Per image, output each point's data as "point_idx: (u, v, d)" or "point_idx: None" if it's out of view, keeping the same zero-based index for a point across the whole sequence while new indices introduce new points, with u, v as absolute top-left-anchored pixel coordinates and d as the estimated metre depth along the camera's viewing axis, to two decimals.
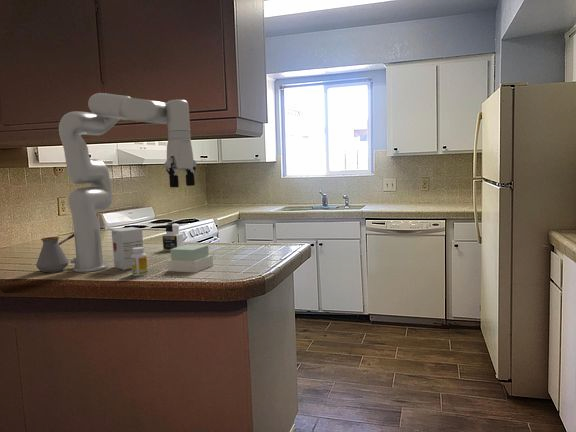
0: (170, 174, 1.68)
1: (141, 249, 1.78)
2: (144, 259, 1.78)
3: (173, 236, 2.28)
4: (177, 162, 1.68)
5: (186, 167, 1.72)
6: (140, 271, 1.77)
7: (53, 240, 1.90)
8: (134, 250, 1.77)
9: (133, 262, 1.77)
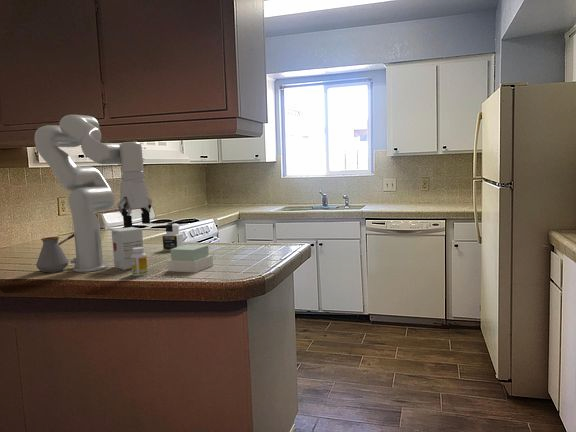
0: (123, 214, 1.72)
1: (141, 249, 1.78)
2: (144, 259, 1.78)
3: (173, 236, 2.28)
4: (130, 203, 1.72)
5: (140, 206, 1.77)
6: (140, 271, 1.77)
7: (53, 240, 1.90)
8: (134, 250, 1.77)
9: (133, 262, 1.77)
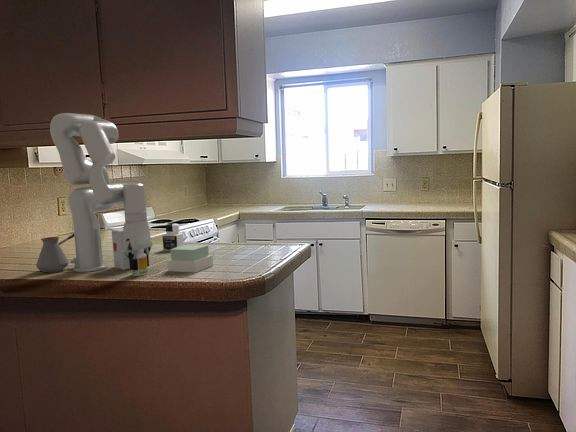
0: (129, 258, 1.75)
1: (141, 249, 1.78)
2: (144, 259, 1.78)
3: (173, 236, 2.28)
4: (133, 245, 1.74)
5: (142, 247, 1.78)
6: (140, 271, 1.77)
7: (53, 240, 1.90)
8: None
9: None
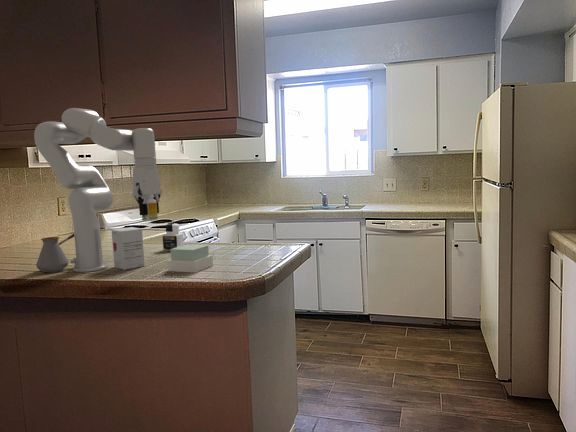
0: (139, 203, 1.75)
1: (151, 194, 1.77)
2: (154, 204, 1.78)
3: (173, 236, 2.28)
4: (142, 189, 1.73)
5: (152, 193, 1.78)
6: (150, 216, 1.77)
7: (53, 240, 1.90)
8: None
9: None
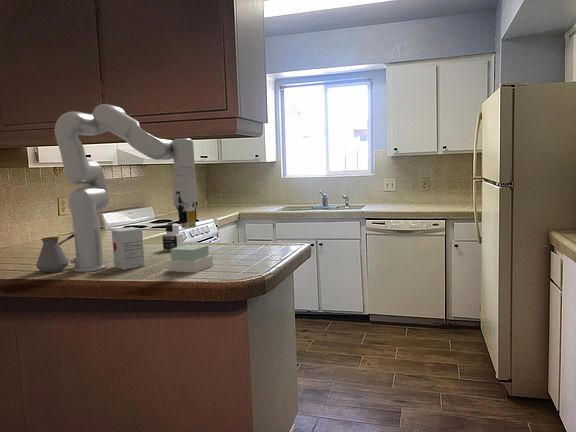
0: (179, 211, 1.81)
1: (190, 202, 1.83)
2: (193, 212, 1.84)
3: (173, 236, 2.28)
4: (183, 197, 1.79)
5: (191, 201, 1.84)
6: (189, 224, 1.83)
7: (53, 240, 1.90)
8: None
9: None
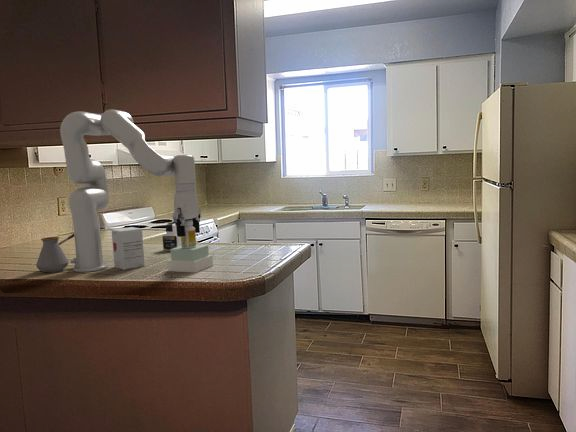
0: (177, 224, 1.80)
1: (190, 222, 1.84)
2: (193, 232, 1.84)
3: (173, 236, 2.28)
4: (184, 214, 1.80)
5: (192, 217, 1.84)
6: (190, 243, 1.84)
7: (53, 240, 1.90)
8: (184, 223, 1.84)
9: None
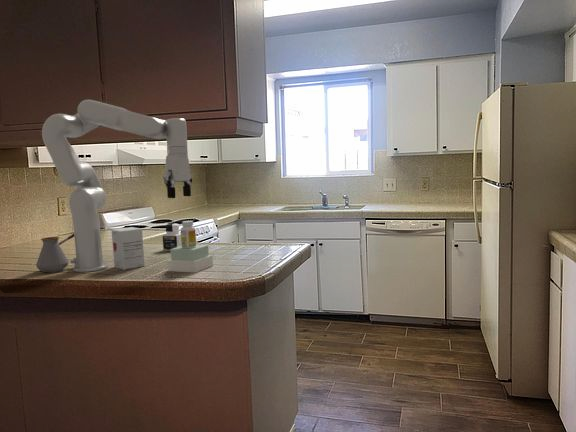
0: (168, 186, 1.84)
1: (191, 222, 1.84)
2: (193, 232, 1.84)
3: (173, 236, 2.28)
4: (174, 175, 1.84)
5: (183, 179, 1.89)
6: (190, 243, 1.84)
7: (53, 240, 1.90)
8: (184, 223, 1.83)
9: (183, 235, 1.83)
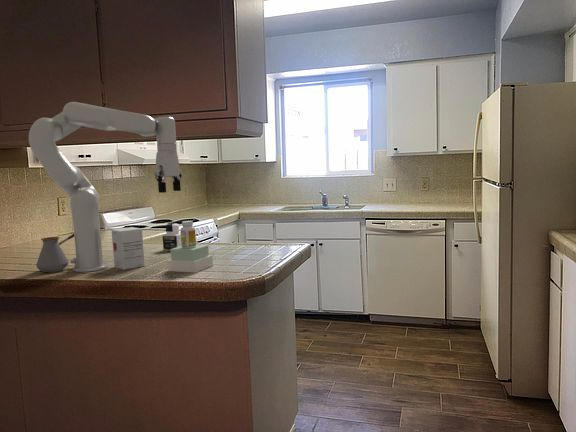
0: (159, 181, 1.94)
1: (190, 222, 1.84)
2: (193, 232, 1.84)
3: (173, 236, 2.28)
4: (165, 171, 1.94)
5: (173, 175, 1.99)
6: (190, 243, 1.84)
7: (53, 240, 1.90)
8: (184, 223, 1.83)
9: (183, 235, 1.83)
